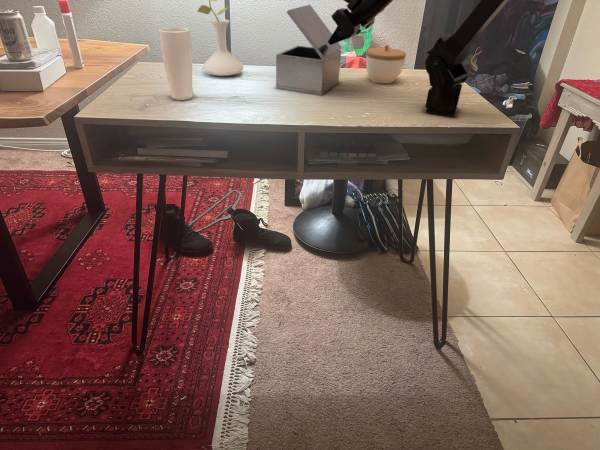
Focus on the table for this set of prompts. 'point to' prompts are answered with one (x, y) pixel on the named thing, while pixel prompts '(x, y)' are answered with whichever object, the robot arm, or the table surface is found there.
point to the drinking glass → (177, 61)
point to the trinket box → (384, 64)
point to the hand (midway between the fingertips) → (329, 43)
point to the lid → (314, 30)
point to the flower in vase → (220, 49)
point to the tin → (306, 70)
